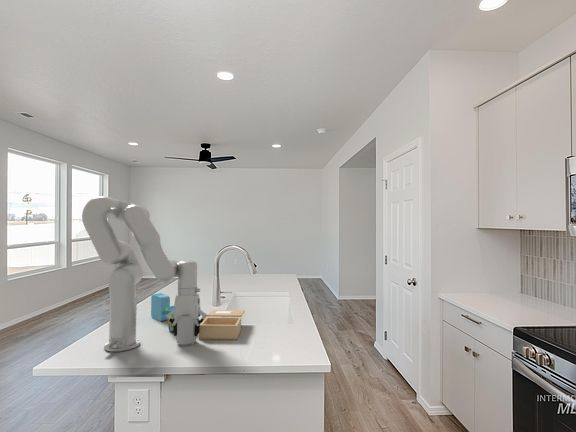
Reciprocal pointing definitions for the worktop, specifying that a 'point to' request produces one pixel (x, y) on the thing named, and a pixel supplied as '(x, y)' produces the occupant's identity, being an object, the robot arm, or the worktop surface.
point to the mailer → (220, 328)
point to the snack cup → (172, 317)
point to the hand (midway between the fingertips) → (186, 334)
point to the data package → (159, 306)
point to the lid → (226, 313)
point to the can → (185, 330)
